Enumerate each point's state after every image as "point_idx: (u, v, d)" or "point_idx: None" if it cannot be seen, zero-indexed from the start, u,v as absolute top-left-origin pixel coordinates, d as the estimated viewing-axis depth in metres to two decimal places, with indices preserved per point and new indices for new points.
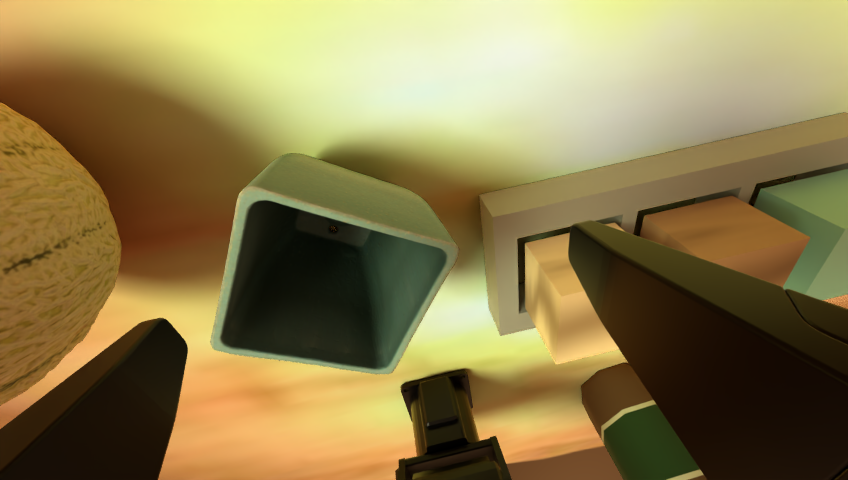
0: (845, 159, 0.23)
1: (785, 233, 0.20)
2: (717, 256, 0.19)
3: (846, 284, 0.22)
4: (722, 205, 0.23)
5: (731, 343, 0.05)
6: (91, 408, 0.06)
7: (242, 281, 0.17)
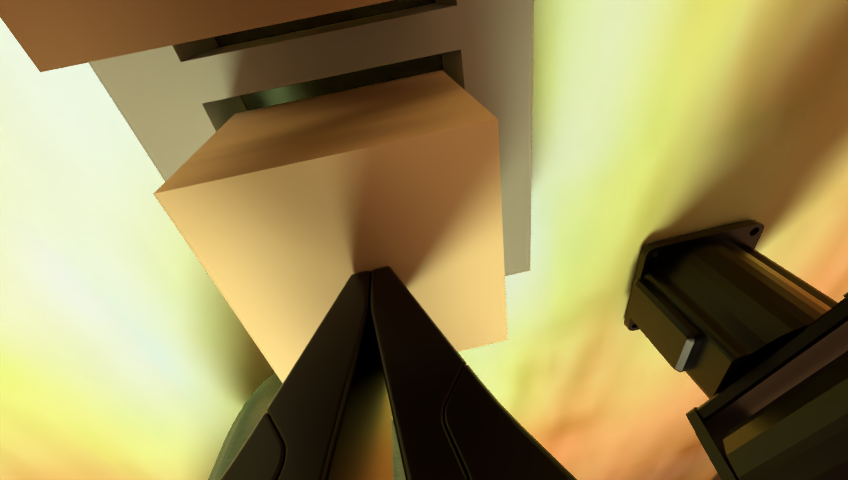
0: None
1: None
2: None
3: None
4: None
5: None
6: (366, 344, 0.06)
7: None
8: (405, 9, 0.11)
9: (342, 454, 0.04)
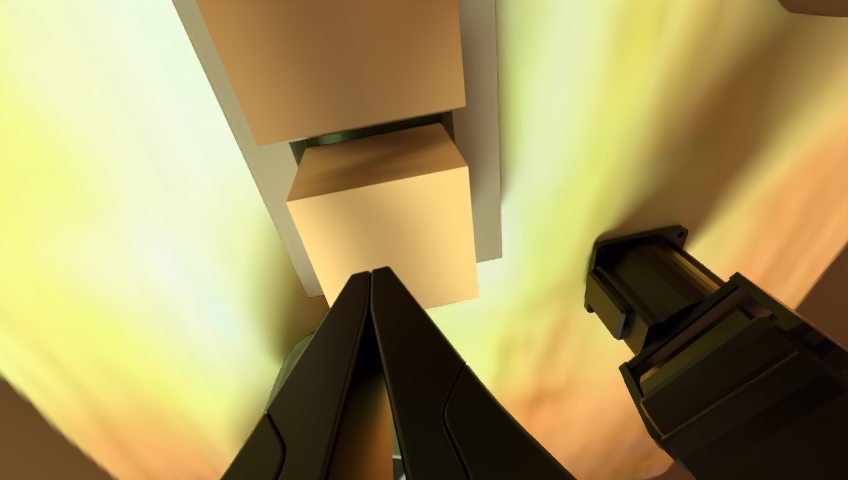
0: None
1: None
2: (245, 110, 0.10)
3: None
4: None
5: None
6: (366, 344, 0.06)
7: None
8: None
9: (342, 454, 0.04)
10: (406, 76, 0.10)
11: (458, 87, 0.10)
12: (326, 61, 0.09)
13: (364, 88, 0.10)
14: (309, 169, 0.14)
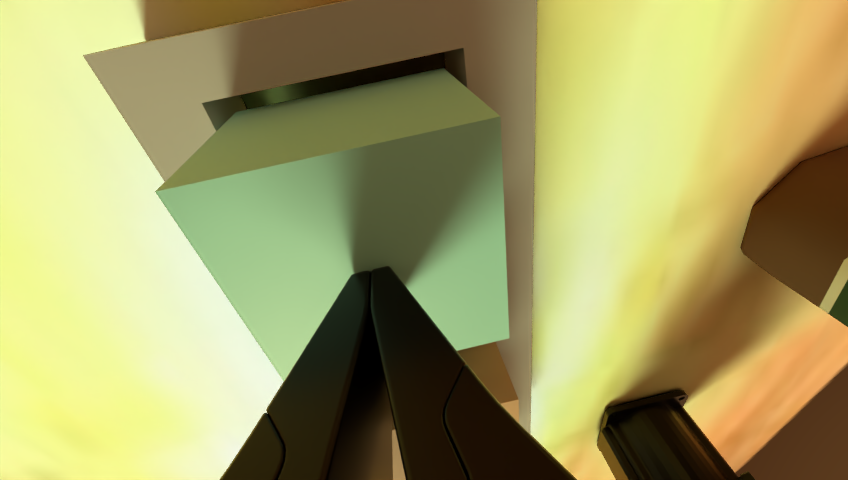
0: None
1: None
2: None
3: (460, 269, 0.08)
4: None
5: None
6: (366, 344, 0.06)
7: None
8: None
9: (342, 454, 0.04)
10: None
11: None
12: None
13: None
14: None
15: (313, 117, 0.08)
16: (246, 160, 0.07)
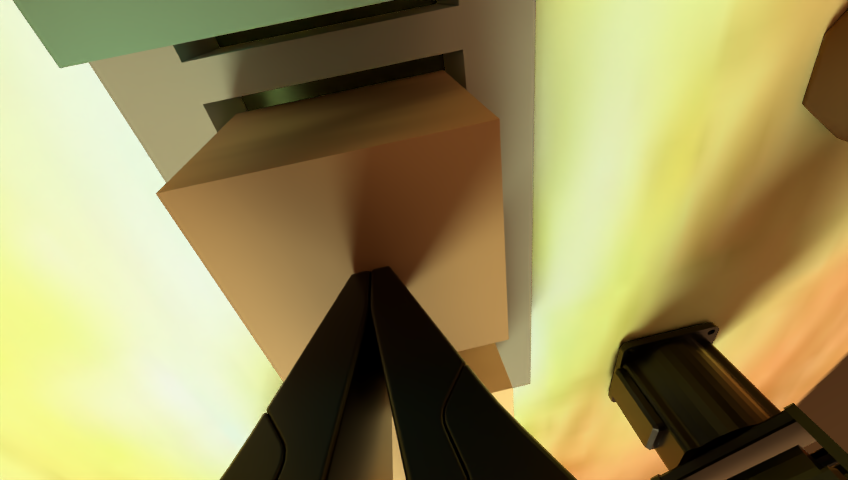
0: None
1: None
2: (277, 363, 0.09)
3: None
4: None
5: None
6: (366, 344, 0.06)
7: None
8: None
9: (342, 454, 0.04)
10: (448, 326, 0.09)
11: (501, 327, 0.09)
12: None
13: None
14: None
15: None
16: None
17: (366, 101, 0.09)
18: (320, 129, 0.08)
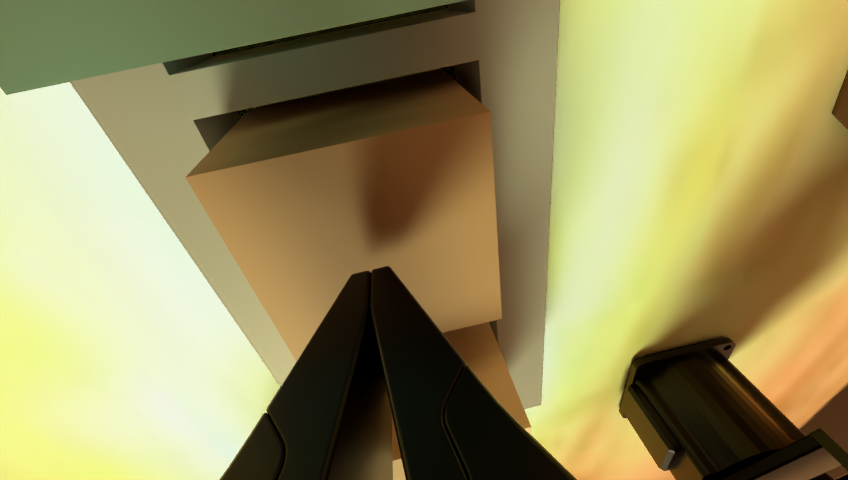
0: None
1: None
2: (288, 338, 0.10)
3: None
4: None
5: None
6: (366, 344, 0.06)
7: None
8: None
9: (342, 454, 0.04)
10: (445, 304, 0.10)
11: (495, 307, 0.10)
12: None
13: None
14: None
15: None
16: None
17: (370, 97, 0.10)
18: (328, 121, 0.08)
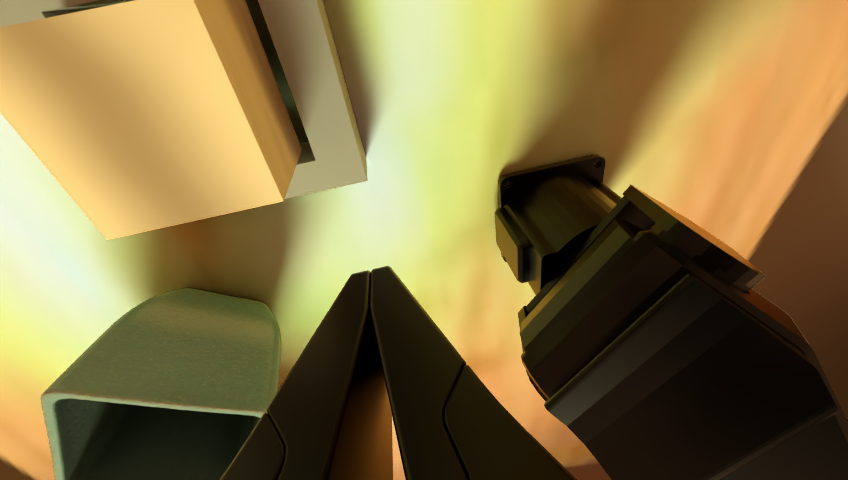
0: None
1: None
2: None
3: None
4: None
5: None
6: (366, 344, 0.06)
7: (204, 456, 0.21)
8: None
9: (342, 454, 0.04)
10: None
11: None
12: None
13: None
14: None
15: None
16: None
17: None
18: None
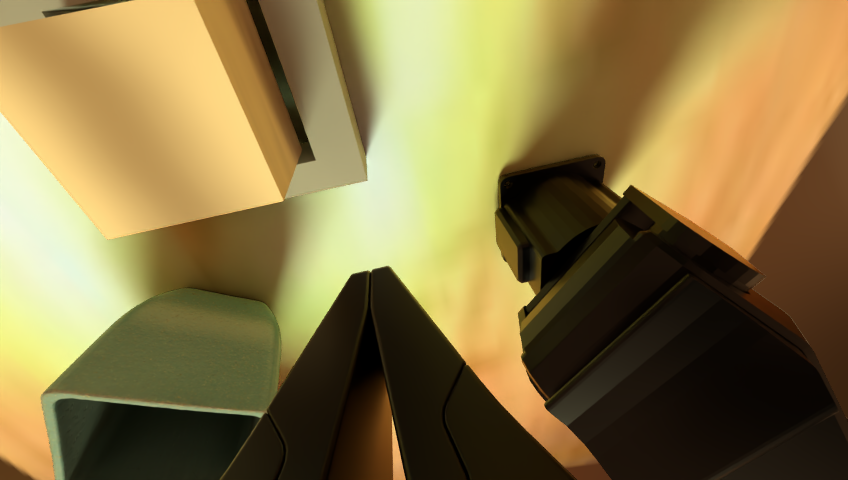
0: None
1: None
2: None
3: None
4: None
5: None
6: (366, 344, 0.06)
7: (204, 456, 0.21)
8: None
9: (342, 454, 0.04)
10: None
11: None
12: None
13: None
14: None
15: None
16: None
17: None
18: None
